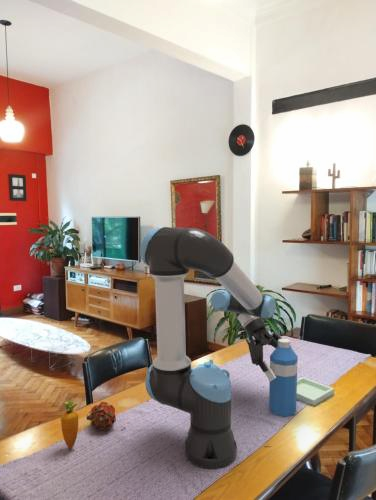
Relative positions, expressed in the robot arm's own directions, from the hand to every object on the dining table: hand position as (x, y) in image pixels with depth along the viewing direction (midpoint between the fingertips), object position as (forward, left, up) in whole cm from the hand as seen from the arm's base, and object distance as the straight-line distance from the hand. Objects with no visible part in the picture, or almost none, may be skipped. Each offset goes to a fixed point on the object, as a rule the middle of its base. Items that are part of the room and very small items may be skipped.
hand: (285, 374), depth 137 cm
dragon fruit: (-54, +32, -13) cm, 64 cm away
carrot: (-67, +27, -13) cm, 73 cm away
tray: (+16, +1, -13) cm, 21 cm away
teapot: (-11, +28, -13) cm, 33 cm away
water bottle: (-1, 0, -13) cm, 13 cm away
